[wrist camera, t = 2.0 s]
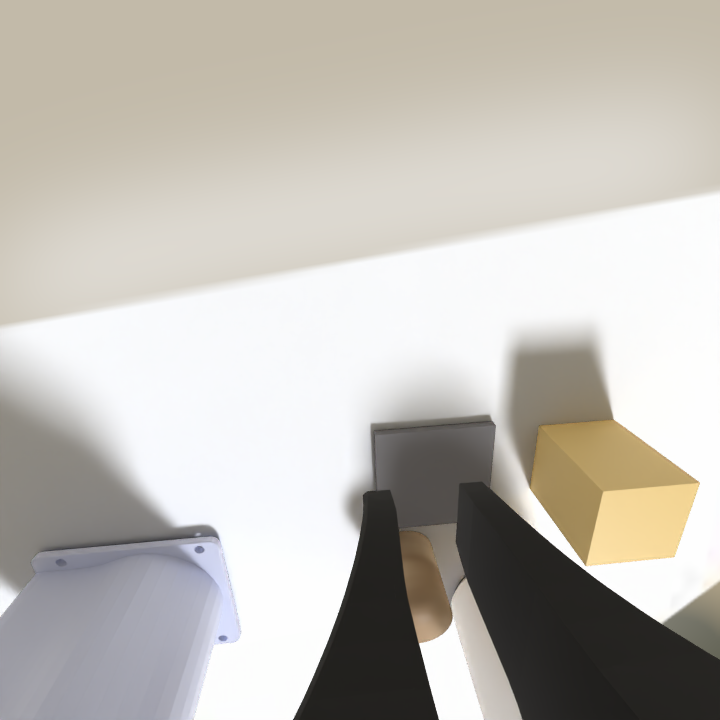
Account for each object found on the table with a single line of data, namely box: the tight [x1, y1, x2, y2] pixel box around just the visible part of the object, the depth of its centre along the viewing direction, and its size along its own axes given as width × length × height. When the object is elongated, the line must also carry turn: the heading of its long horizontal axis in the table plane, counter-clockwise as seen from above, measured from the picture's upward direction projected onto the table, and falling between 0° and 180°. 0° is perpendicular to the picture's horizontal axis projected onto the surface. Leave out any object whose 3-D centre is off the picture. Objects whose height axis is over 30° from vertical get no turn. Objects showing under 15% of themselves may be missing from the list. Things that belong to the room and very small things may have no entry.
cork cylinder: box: [399, 531, 453, 643], centre depth 20 cm, size 3×3×4 cm
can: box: [451, 577, 522, 720], centre depth 18 cm, size 6×6×12 cm
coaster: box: [374, 421, 496, 528], centre depth 20 cm, size 6×6×1 cm
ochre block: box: [530, 420, 700, 566], centre depth 18 cm, size 4×4×5 cm
